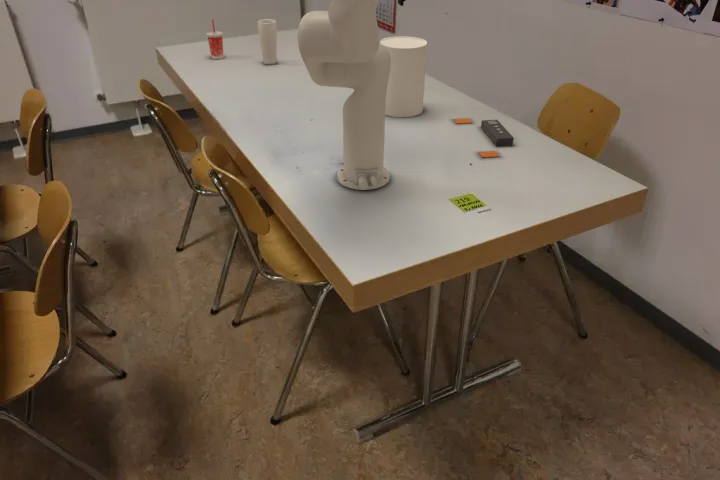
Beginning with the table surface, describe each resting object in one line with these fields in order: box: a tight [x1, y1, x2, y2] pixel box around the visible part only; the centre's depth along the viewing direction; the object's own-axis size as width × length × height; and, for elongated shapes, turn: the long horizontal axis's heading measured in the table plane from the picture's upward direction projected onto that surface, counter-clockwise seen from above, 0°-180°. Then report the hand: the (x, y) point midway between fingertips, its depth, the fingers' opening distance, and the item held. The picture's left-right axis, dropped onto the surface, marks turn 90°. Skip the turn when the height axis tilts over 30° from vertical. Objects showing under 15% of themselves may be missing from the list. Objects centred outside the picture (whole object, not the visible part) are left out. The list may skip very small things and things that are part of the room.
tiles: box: [453, 118, 500, 159], centre depth 157 cm, size 26×5×1 cm, turn 8°
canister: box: [379, 35, 428, 118], centre depth 170 cm, size 14×14×20 cm
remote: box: [480, 119, 515, 147], centre depth 157 cm, size 13×5×2 cm, turn 8°
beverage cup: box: [205, 18, 225, 60], centre depth 217 cm, size 6×6×14 cm
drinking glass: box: [257, 18, 278, 65], centre depth 211 cm, size 7×7×15 cm
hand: (381, 5), depth 138 cm, fingers open, 9 cm apart
